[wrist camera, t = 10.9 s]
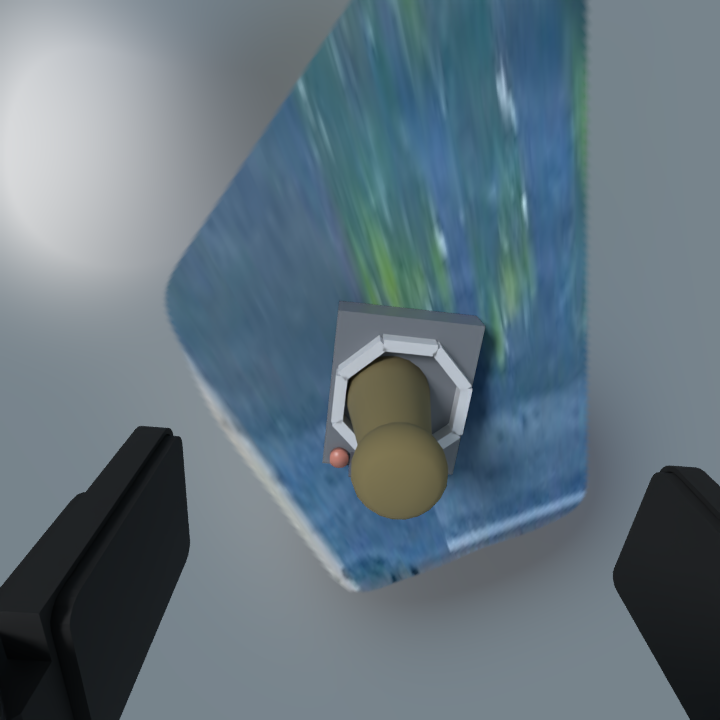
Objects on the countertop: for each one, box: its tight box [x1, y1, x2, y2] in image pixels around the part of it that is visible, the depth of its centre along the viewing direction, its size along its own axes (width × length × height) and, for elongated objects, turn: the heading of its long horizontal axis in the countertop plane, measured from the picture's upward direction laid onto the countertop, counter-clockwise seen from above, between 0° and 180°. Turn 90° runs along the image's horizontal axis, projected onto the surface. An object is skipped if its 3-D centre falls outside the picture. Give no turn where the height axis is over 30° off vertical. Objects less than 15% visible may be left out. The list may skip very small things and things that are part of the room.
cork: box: [346, 356, 448, 519], centre depth 29 cm, size 6×6×11 cm
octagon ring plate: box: [323, 301, 485, 477], centre depth 35 cm, size 12×10×4 cm
